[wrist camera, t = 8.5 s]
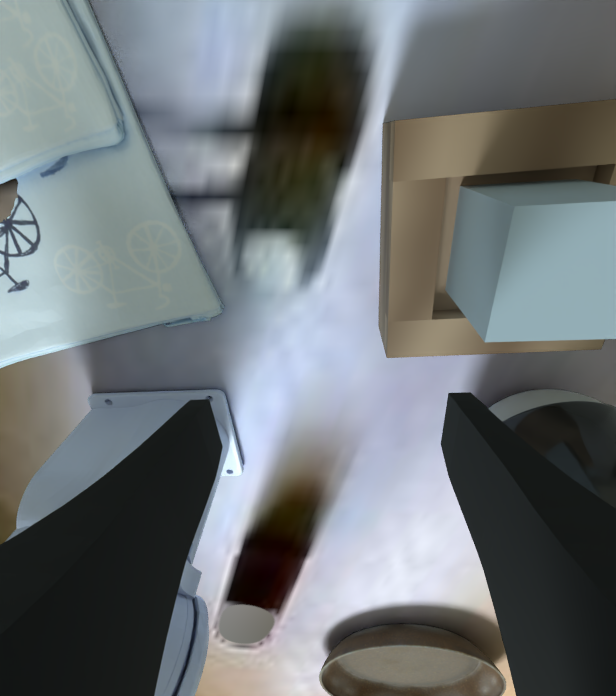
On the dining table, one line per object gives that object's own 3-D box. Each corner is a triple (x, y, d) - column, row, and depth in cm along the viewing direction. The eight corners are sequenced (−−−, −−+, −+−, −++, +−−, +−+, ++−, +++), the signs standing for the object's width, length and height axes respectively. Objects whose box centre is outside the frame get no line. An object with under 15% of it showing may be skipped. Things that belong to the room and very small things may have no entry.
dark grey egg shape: (618, 344, 21) (1122, 705, 7) (595, 466, 26) (875, 811, 12) (436, 377, 22) (586, 714, 9) (448, 485, 27) (557, 803, 14)
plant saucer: (311, 675, 49) (310, 709, 46) (331, 601, 38) (332, 639, 35) (461, 692, 49) (469, 726, 46) (523, 622, 38) (538, 662, 35)
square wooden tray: (378, 325, 21) (386, 357, 18) (382, 123, 16) (395, 120, 13) (560, 317, 20) (601, 349, 17) (626, 100, 15) (701, 90, 12)
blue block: (445, 289, 17) (484, 342, 13) (460, 185, 15) (514, 206, 10) (544, 286, 16) (621, 338, 12) (576, 178, 14) (683, 197, 10)
